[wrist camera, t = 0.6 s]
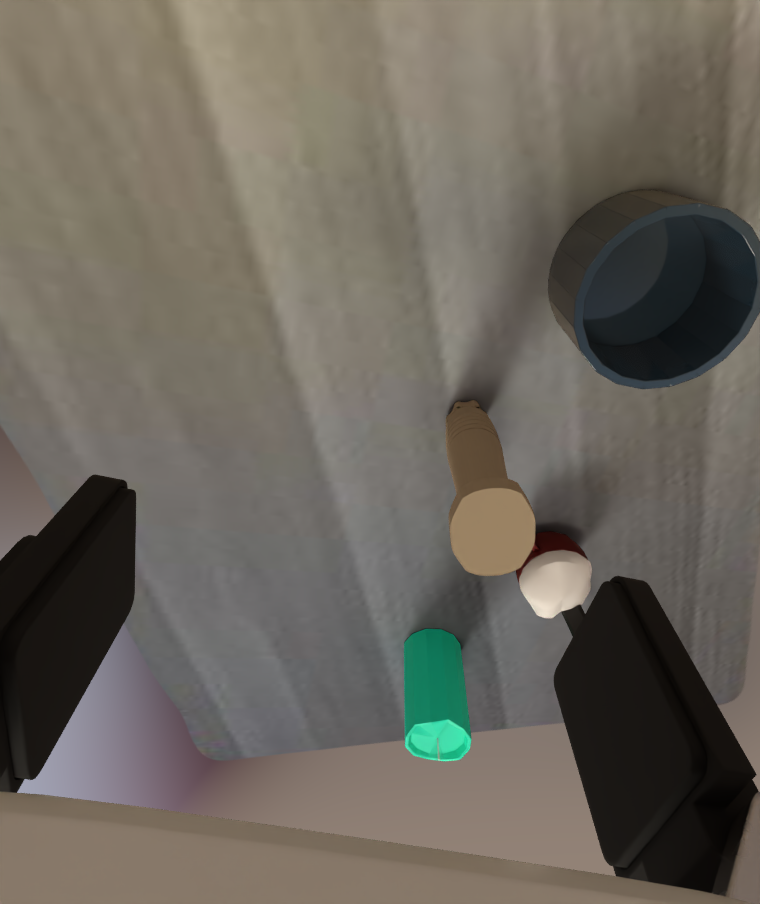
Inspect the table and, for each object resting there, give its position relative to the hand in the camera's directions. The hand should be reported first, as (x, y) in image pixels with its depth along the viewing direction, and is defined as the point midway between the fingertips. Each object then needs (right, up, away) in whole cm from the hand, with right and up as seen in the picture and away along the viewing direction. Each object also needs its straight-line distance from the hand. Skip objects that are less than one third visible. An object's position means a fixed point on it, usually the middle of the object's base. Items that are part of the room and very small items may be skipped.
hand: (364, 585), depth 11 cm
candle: (+6, -18, +49) cm, 52 cm away
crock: (+18, +15, +29) cm, 37 cm away
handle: (+7, +6, +35) cm, 36 cm away
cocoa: (+16, -7, +42) cm, 45 cm away
